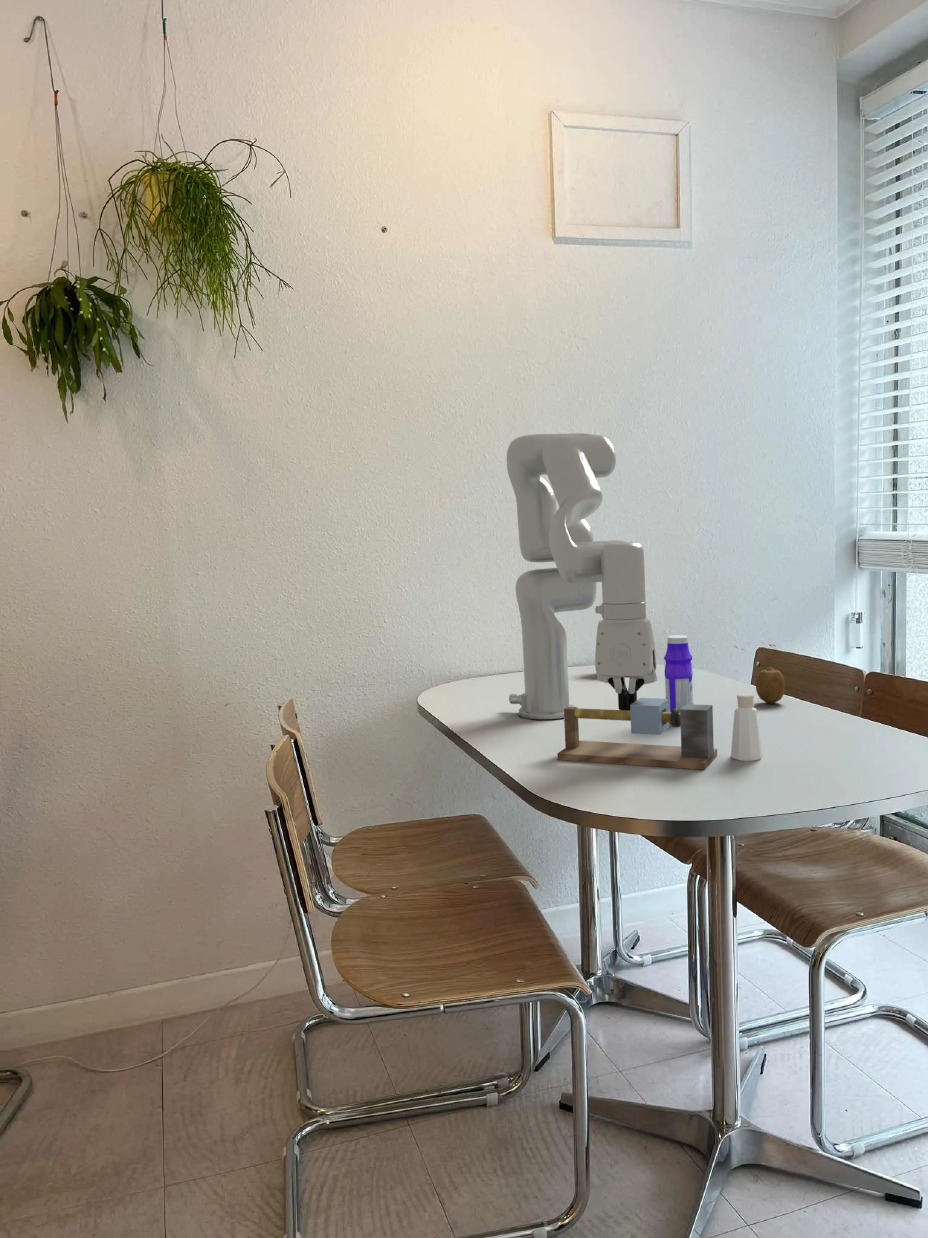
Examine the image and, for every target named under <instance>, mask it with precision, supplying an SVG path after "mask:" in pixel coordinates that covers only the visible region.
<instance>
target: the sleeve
mask: <svg viewBox="0 0 928 1238" xmlns="http://www.w3.org/2000/svg"><path fill="white" fill-rule="evenodd" d="M662 712H669V702H668V699H666V698H658V697H656V698H655V697H653V698H652V697H640V698H639V699H638V698H637V701H635V702H634V703H632V704H631V705H630V713H631V721H630V733H631V734H635V735H636V734H637V735H652V736H653V735H654V736H660V735H662V734H663V733H664V732H666V730H667V729H668V728H670V723H665V722H662Z"/></svg>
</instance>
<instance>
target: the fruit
mask: <svg viewBox="0 0 928 1238" xmlns="http://www.w3.org/2000/svg"><path fill="white" fill-rule="evenodd" d="M782 673H783V672H781V671H780V670H778V669H774V668H773V667H772V666H769V667H767V668H766V669H762V670H761V671H759V673H758V674H757V677H756V680H755V690H756V693H757V696H758V697H759V699H760V700H761V701H763V702H764V703H767V704H769V705H773V704H775V703H777V702H779V701H780V700H782V698H783V697H784V694H785V691H786V681H785V678H784V675H783V674H782Z"/></svg>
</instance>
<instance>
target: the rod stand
mask: <svg viewBox="0 0 928 1238" xmlns="http://www.w3.org/2000/svg"><path fill="white" fill-rule="evenodd" d="M713 709H714V708H713V705H712V704H694V703H693V704H686V705H685V706H683V707H682V708H681V709H677V708H673V709H672V712H662V722H665V723H669V724H671V727H672V728H680V745H665V744H664V745H662V744H661V745H660V744H646V743H645V744H643V743H629V742H627V743H625V742H612V741H594V740H593V741H592V740H580V733H579V719H583V720H584V719H585V720H604V721H605V720H608V721H626V722H627V721H628V722H629V721H630V722H631V713H630V711H629V710H619V709H604V708H603V709H602V708H584V707H583V708H581V707H580V708H579V707H578V706H575V707H566V708H564V718H563V723H564V742H565V743H564V745H565V747H564V748H563V749H562V750H560V751H558V752H557V754H556V755H557V761H566V760H571V761H570V762H581V761H582V762H581V763H583V761H584V763H595V762H602V763H601V764H610V763H620V764H619V765H624V764H629V765H628V766H639V765H649V766H648V767H653V766H664V767H663V768H668V767H674V768H673V769H682V768H689V769H688V770H697V769H701V770H700V771H705V770H706V769H707V768H708V767H709V766H710V764H711V763H712V762H713V761H714V760H715V758H716V757H717V756H718V748H716V747H715V746H714V718H713V717H714V713H713ZM714 747H715V748H714ZM572 760H573V761H572ZM603 762H604V763H603ZM621 763H622V764H621ZM707 766H708V767H707Z"/></svg>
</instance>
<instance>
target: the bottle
mask: <svg viewBox="0 0 928 1238" xmlns="http://www.w3.org/2000/svg"><path fill="white" fill-rule="evenodd" d="M666 638H667V643H666V644H667V648H666V652H665V655H664V657H663V660H664V661H665V665H664V677H665V678H664V679H665V680H664V682H665V683H664V685H665V688H664V689H665V691H664V692H665V699H668V702H669V712H672V709H673V708H677V709H681V708H682V707H683V706H685V705H686V704H694V693H693V675H694V674H693V673H694V671H693V665H692V660H693V656H692V654H691V652H690V648H689V641H688V640H689V639H688V636H687V635H683V634H675V635H669V636H667V637H666Z"/></svg>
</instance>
